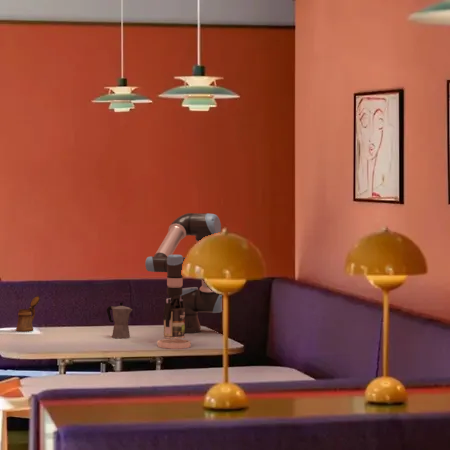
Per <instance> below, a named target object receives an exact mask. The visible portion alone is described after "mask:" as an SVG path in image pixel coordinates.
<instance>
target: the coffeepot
mask: <svg viewBox="0 0 450 450" xmlns="http://www.w3.org/2000/svg"><path fill="white" fill-rule="evenodd" d="M111 311H112V315H111ZM131 312H133V308H131V307H128V306H125V305H124V302H122V301H120V302H119V305H118V306H112V305H109V306H108V307H107V308H106V313H107V317H108V321H109V322H110V323H114V325H113V328H112V329H113V330H112V335H111V338H113V339H117V340H118V339H119V340H121V339H122V340H123V339H130V338H131V336H130V335H131V334H130V327H129V323H128V322H129V320H130V314H131ZM112 318H113V320H112Z"/></svg>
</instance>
